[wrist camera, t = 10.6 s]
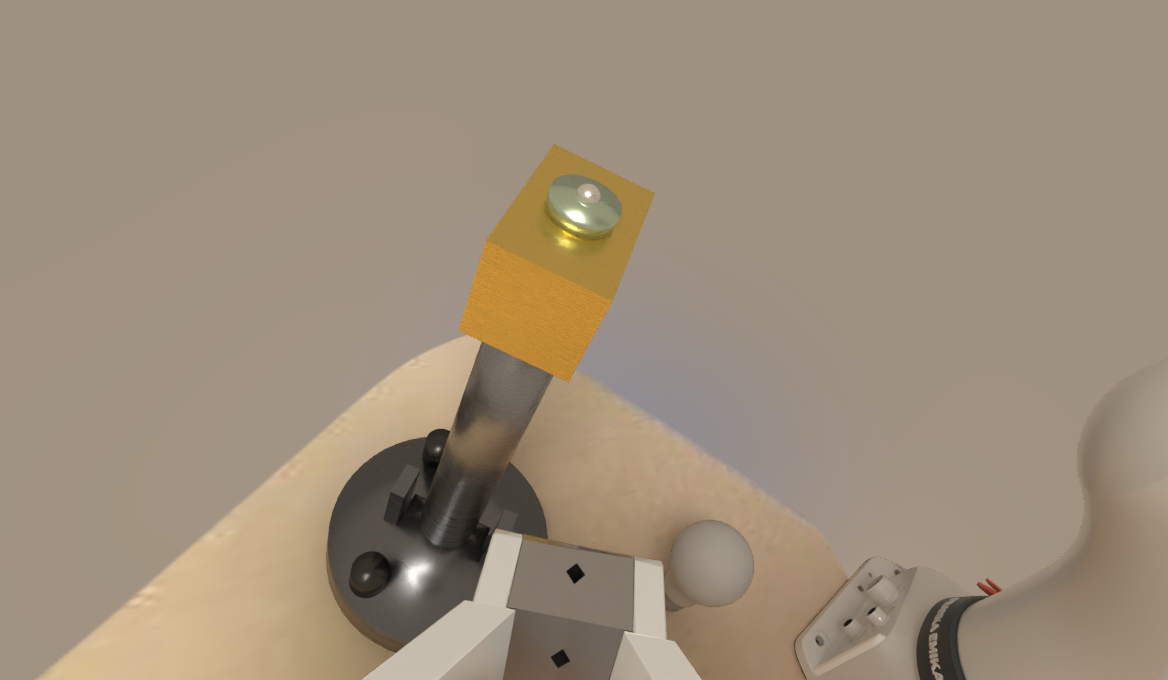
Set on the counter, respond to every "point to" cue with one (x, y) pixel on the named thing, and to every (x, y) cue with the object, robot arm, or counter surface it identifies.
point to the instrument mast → (529, 325)
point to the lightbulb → (708, 566)
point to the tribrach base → (411, 543)
